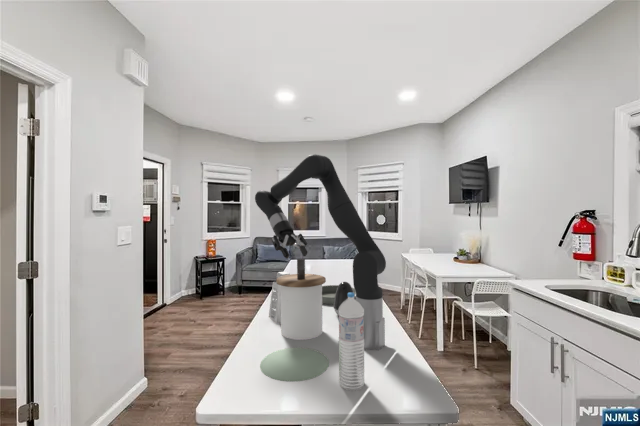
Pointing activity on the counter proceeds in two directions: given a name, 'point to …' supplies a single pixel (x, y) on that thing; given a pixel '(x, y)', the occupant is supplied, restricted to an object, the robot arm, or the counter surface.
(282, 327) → the canister
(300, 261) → the lid
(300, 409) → the counter surface
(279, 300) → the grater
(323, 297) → the cake pan
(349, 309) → the water bottle
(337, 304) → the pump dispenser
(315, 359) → the mat
